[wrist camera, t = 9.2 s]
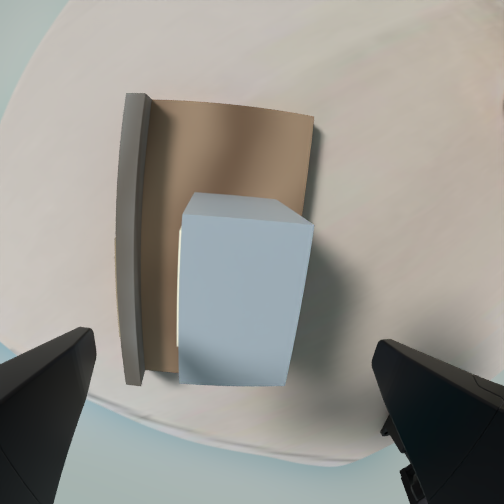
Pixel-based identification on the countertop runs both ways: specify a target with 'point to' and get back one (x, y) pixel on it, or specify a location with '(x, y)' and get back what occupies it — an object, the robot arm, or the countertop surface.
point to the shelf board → (178, 196)
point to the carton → (239, 289)
